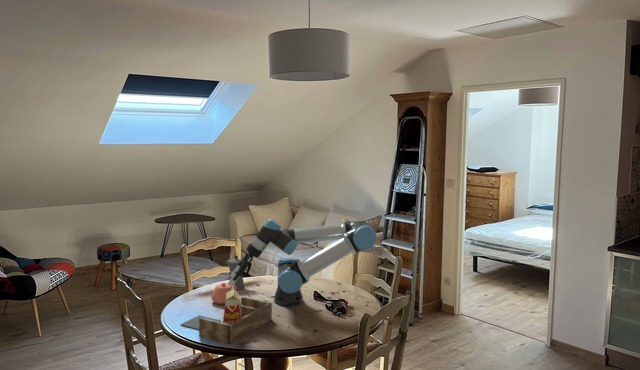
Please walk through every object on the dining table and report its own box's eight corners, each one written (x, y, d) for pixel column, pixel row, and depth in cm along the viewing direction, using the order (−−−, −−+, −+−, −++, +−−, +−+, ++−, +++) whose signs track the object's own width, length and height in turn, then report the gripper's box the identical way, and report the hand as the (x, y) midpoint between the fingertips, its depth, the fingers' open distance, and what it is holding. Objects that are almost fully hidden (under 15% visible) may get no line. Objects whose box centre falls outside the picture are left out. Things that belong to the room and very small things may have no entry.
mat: (180, 325, 241) (180, 324, 241) (199, 316, 252) (199, 315, 252) (202, 331, 235) (202, 329, 235) (221, 321, 246) (221, 320, 246)
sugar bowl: (208, 300, 275) (208, 281, 274) (233, 296, 282) (233, 277, 281) (215, 307, 265) (215, 288, 263) (242, 303, 272) (242, 284, 270)
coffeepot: (222, 288, 295) (222, 257, 293) (227, 283, 304) (227, 253, 302) (249, 290, 293) (249, 258, 291) (253, 285, 302) (253, 254, 300)
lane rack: (199, 336, 230) (199, 318, 229) (242, 312, 258) (242, 297, 257) (230, 344, 222) (230, 326, 221) (271, 319, 251) (271, 303, 250)
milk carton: (223, 327, 240) (223, 285, 237) (243, 327, 240) (243, 285, 238) (221, 335, 231) (221, 291, 228) (242, 335, 231) (242, 291, 229)
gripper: (251, 236, 270) (227, 269, 270) (249, 248, 245) (222, 284, 246) (263, 245, 271) (238, 277, 272) (262, 257, 246) (235, 293, 247)
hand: (231, 281), depth 259 cm, fingers open, 13 cm apart
